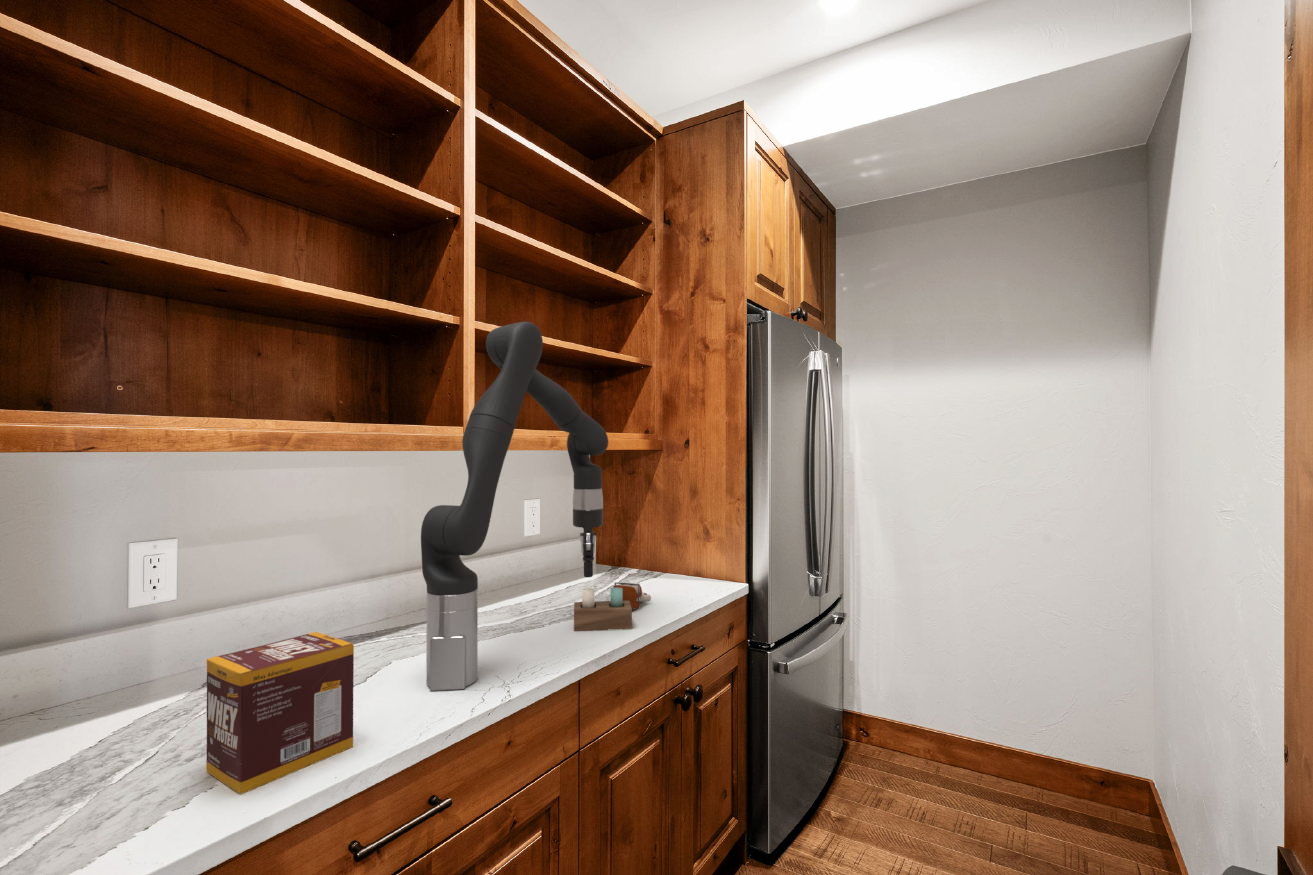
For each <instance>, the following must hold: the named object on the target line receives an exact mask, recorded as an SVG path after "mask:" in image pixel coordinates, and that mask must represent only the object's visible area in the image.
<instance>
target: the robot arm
mask: <svg viewBox="0 0 1313 875" xmlns="http://www.w3.org/2000/svg"><path fill="white" fill-rule="evenodd" d="M543 347H544V342H543V335H542V333H541V331H540V329H539V327H538V326H537V325H536V324H535V323H533V322H530V321H519V322H513V323H510V324H506V325H503V326H499V327H496V328H494V329H492V330H491V331H490V332H489V333H488V334H487V336H486V339H485V349H486V352H487V355H488V357H489V358H490V360H491V361H492V362H493V363H494V365H496V366H497V367H498V369H500V372H499V374H498V375H497V377H496V378H495V380H494V381H493V382H492V384H491V385H489V387H488V389H486V391H485V392H484V393H483V394H482V395H481V397H480V398H479V399H478V400H477V402H476V403H475V405H474V407H473V408H472V410H471V412H470V414H469V417H468V420H467V423H466V426H465V429H464V432H463V436H462V441H461V442H462V451H463V456H464V461H465V463H466V469H467V475H468V477H467V484H466V489H465V491H464V496H463V497H462V501H461V503H460V505H452V504H450V505H449V504H448V505H447V504H441V505H436V506H433V507H432V508H430V509H429V510H428V511H427V512H426V514H425V515H424V518H423V520H422V522H421V523H422V524H421V528H420V550H421V551H420V552H421V569H422V571H421V572H422V576H423V579H424V581H425V584H426V645H425V646H426V653H425V654H426V663H425V664H426V685H427V687H428V688H429V691H448V690H449V691H450V690H465V688H467V686H470V685H473V683H474V684H475V683H476V681H477V680H478V678H479V677H478V676H479V675H478V673H479V671H478V669H479V668H478V665H479V664H478V662H479V660H478V659H479V657H478V650H479V648H478V645H479V644H478V643H479V642H478V638H479V637H478V635H479V634H478V632H479V628H478V625H479V624H478V620H479V619H478V617H479V616H478V611H479V610H478V608H479V606H478V605H479V602H478V600H479V598H478V597H479V594H478V592H479V590H478V589H479V585H478V584H479V583H478V582H479V580H478V575H477V573H476V572H475V571H473V570H472V569H471V568H469V567H468V566H467V565H466V564H464V562H463V561H462V560H461V556H472V555H474V554H476V553H477V552H478V551H480V550H481V548H482V546H483V545H484V543H485V540H486V539H487V535H488V532H489V528H490V522H491V518H492V513H493V508H494V504H495V503H494V502H495V498H496V492H497V489H498V484H499V481H500V480H499V479H500V477H501V475H502V474H501V473H502V470H503V466H504V462H505V459H506V456H507V453H508V451H509V447H510V445H511V442H512V437H513V435H514V432H515V427H516V423H517V420H518V416H519V414H520V410H521V408H522V406H523V402H524V399H525V395H526V393H527V394H528V395H530V397H531V398H533V399H534V401H536V402H537V403H538V404H539V406H541V408H542V409H543V410H544V412H546V414H547V415H548V416H549V417H550V418H551V420H552V422H554V424H555V425H556V426H557V428H559V430H561V431H562V432H565V433H568V435H567V438H566V449H567V453H568V457H569V461H570V465H571V468H572V471H573V491H572V492H573V494H572V525H573V527H576V528H582V529H583V532H580V533H579V534H580V535H579V538H580V539H579V540H580V544H581V545H580V549H581V553H582V561H583V577H584V578H592V577H593V575H594V573H593V572H594V560H595V557H594V553H596V542H597V532H594V530H593V529H594V528H598V527H602V526H603V525H604V495H603V473H602V472H603V471H602V467H600V466H599V465H598V464H594V463H593V462H592V461H591V458H590V456H597V455H598V456H599V455H602V454H604V453H605V451H606V450H607V449H608V447H609V437H608V434H607V432H606V430H605V429H604V427H603V426H602V425H601V424H600V423H598V422H597V421H596V420H595V419H593V417H592V416H590V415H588V413H586V412H584V411H583V410H582V408H581V407H580V406H579V404H578V403H577V402H576V400H575V398H574V397H573V396H572V395H571V394H570V392H569V391H567V390H566V389H565V388H564V387H562V386H561V385H560V384H559V383H556V382H555V381H553V380H552V379H551V378H549V377H547V376H545V375H544V374H543V373H541V372H540V371H539V370H538V369H537V366H538V364H539V362H540V359H541V357H542V353H543Z"/></svg>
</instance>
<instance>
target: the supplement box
mask: <svg viewBox="0 0 1313 875" xmlns="http://www.w3.org/2000/svg"><path fill="white" fill-rule="evenodd" d="M354 645H355V644H354V643H352V642H349V641H347V640H343V639H340V638H337V637H334V636H330V635H327V634H325V633H322V632H318V631H314V632H313V631H312V632H310V633H305V634H302V635H299V636H294V637H291V638H287V639H282V640H279V641H275V642H271V643H267V644H263V645H258V646H254V647H251V648H246V649H242V650H238V651H234V652H229V653H226V654H220V655H217V656H213V657H209V658H206V761H205V763H206V768H205V771H206V772H207V773H209V775H211V776H213V777H214V778H215V779H217V780H218V781H220V782H221V783H222V784H224V785H226V786H227V787H229V788H230V789H232V790H233V791H235V792H236V793H238V794H240V795H242V794H244V793H247V792H249V791H251V790H254V789H257V788H259V787H262V786H265V785H267V784H269V783H271V782H274V781H276V780H278V779H280V778H283V777H285V776H287V775H290V774H292V773H295V772H297V771H299V770H302V769H304V768H306V767H309V766H311V765H314V764H315V763H318V762H321V761H324V760H326V759H328V758H330V757H332V756H335V755H337V754H340V753H342V752H345V751H347V750H350V749H351V748H353V747H354V669H355V668H354V666H355V665H354V658H355V657H354V655H355V653H354V652H355V649H354V647H355V646H354Z"/></svg>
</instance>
